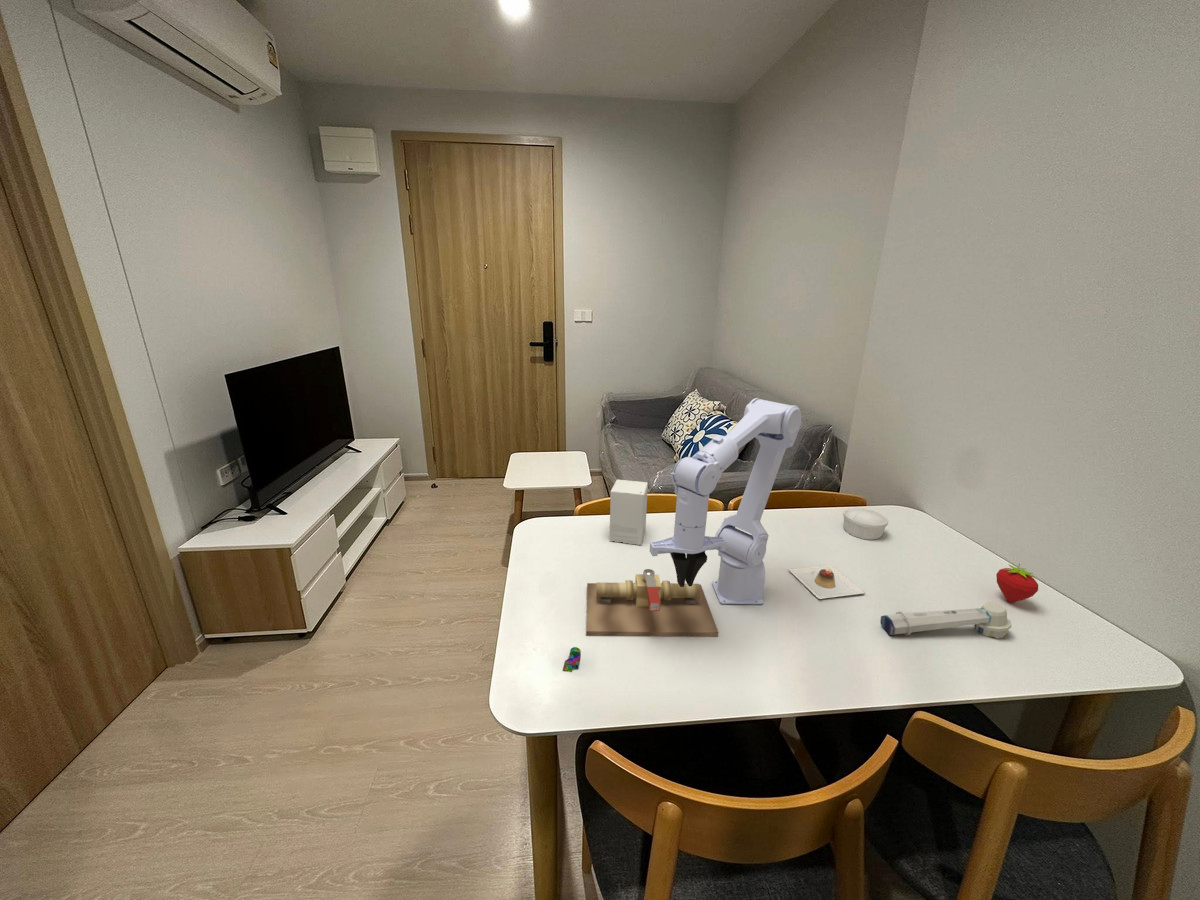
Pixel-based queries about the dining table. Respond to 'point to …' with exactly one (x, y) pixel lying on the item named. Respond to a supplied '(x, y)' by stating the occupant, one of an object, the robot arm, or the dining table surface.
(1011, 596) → the strawberry
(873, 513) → the ramekin
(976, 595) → the dining table surface
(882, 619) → the toothbrush head
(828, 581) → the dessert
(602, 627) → the valve board
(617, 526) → the supplement box
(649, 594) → the valve lever
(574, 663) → the puzzle cube
